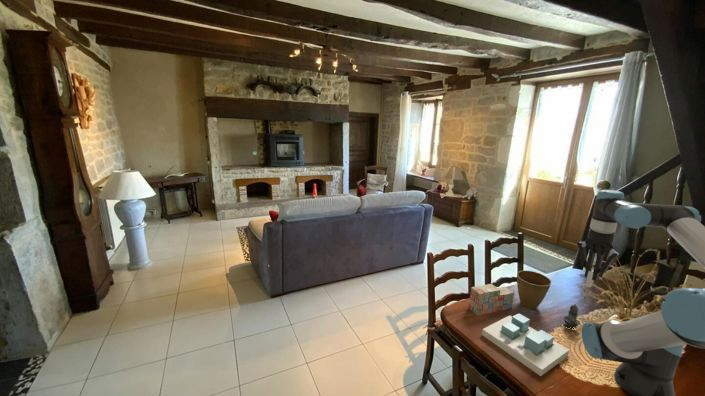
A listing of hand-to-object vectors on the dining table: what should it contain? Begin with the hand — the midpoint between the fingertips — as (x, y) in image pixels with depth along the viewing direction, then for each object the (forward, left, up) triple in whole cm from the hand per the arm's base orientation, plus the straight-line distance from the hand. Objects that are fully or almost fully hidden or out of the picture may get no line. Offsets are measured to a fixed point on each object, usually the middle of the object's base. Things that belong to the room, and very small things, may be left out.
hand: (588, 285), depth 115 cm
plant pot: (+26, -12, -29) cm, 40 cm away
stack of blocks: (+34, +8, -29) cm, 45 cm away
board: (+11, +19, -28) cm, 36 cm away
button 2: (+16, +14, -25) cm, 33 cm away
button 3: (+6, +21, -25) cm, 33 cm away
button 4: (+6, +14, -27) cm, 31 cm away
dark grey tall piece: (+7, -12, -29) cm, 32 cm away
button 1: (+16, +21, -27) cm, 38 cm away
